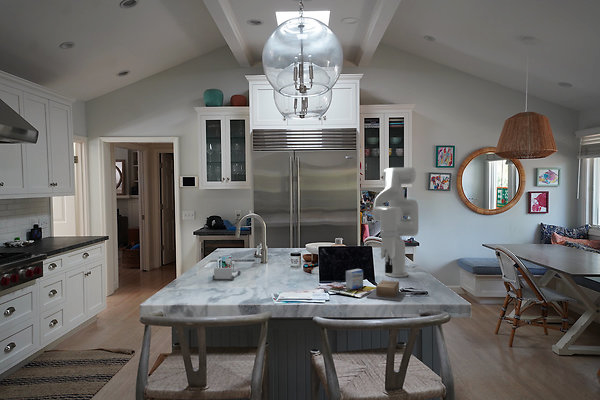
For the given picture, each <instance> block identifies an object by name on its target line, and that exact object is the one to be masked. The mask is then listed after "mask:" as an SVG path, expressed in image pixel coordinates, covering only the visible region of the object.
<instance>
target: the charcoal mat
mask: <svg viewBox="0 0 600 400" xmlns="http://www.w3.org/2000/svg"><path fill="white" fill-rule="evenodd" d="M406 294H407V292H406V291H398V292H397V293H396V295H395V296H394V297H385V296H377V295H376V288H374V289H372V291H371V292H370V293H369V294H368V295H367V296H366V299H372V300H373V299H374V300H383V301H390V302H391V301H392V302H398V303H399V302H400V303H401V302H402V300H403V299H404V297H405V296H406Z"/></svg>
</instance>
